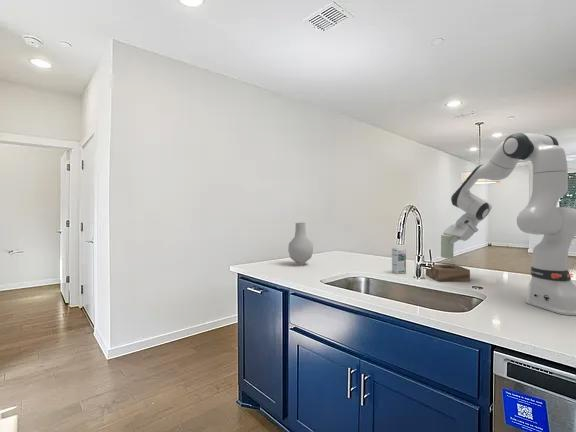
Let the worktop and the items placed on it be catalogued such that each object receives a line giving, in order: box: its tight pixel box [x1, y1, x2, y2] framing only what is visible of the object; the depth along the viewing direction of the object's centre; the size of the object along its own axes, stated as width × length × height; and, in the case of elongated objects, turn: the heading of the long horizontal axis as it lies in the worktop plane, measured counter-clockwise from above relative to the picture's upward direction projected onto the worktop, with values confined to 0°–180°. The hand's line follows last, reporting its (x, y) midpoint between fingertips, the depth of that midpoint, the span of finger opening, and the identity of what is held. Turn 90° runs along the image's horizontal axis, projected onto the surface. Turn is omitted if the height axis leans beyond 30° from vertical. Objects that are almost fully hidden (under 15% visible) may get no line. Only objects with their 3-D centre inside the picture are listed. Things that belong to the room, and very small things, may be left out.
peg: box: [440, 234, 454, 259], centre depth 178 cm, size 4×4×12 cm
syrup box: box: [391, 247, 407, 275], centre depth 193 cm, size 6×6×14 cm
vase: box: [288, 222, 314, 266], centre depth 220 cm, size 17×16×28 cm
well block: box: [425, 263, 471, 283], centre depth 178 cm, size 16×16×6 cm
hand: (447, 242), depth 178 cm, fingers closed on peg, 4 cm apart
